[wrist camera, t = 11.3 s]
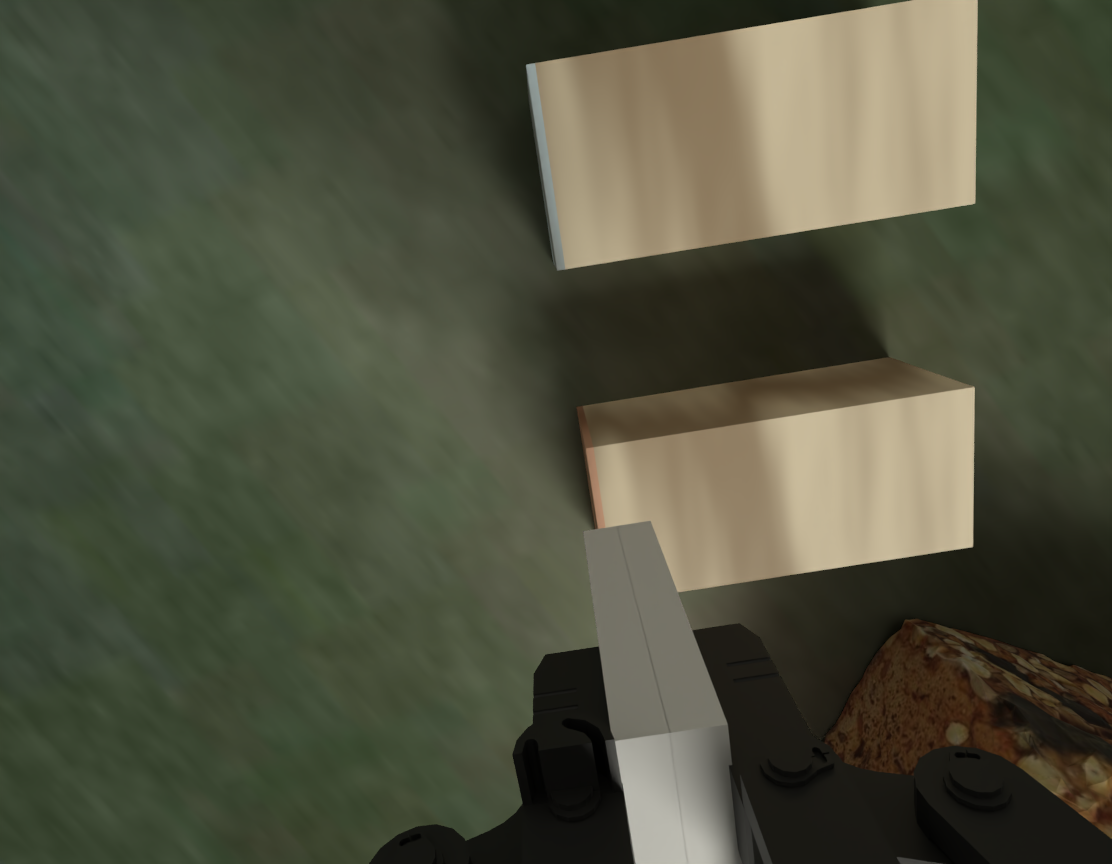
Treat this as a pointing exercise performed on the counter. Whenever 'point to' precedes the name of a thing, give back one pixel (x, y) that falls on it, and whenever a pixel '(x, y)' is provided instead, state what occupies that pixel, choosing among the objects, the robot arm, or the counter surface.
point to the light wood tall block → (788, 470)
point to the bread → (982, 713)
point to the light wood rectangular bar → (757, 131)
